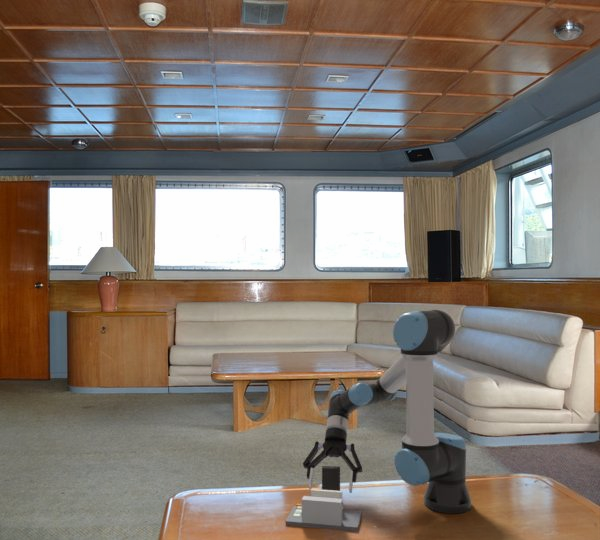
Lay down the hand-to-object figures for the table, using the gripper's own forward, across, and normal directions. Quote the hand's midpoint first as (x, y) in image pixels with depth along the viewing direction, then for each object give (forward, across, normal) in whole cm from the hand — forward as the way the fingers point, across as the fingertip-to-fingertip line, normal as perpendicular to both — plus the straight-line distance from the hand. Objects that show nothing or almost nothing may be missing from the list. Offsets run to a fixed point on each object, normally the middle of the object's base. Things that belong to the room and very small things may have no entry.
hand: (329, 489), depth 200 cm
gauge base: (+12, 0, +5) cm, 13 cm away
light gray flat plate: (+8, +3, +2) cm, 8 cm away
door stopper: (+2, 0, -5) cm, 6 cm away
